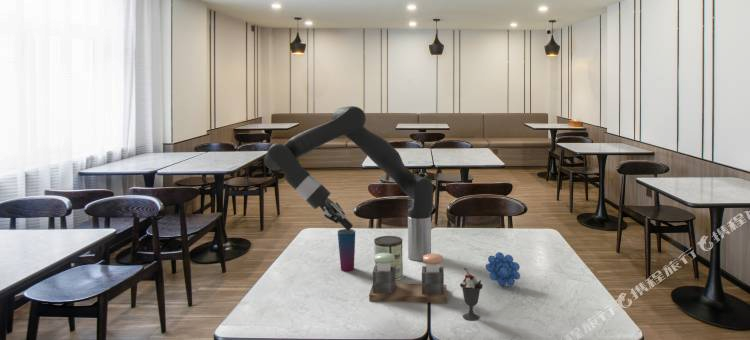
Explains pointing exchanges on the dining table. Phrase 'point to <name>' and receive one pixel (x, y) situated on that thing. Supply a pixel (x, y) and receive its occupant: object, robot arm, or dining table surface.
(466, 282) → the sundae
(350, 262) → the cup
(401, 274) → the coffee can
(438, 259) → the button
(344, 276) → the dining table surface
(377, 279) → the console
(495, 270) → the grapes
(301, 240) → the dining table surface
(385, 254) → the button
